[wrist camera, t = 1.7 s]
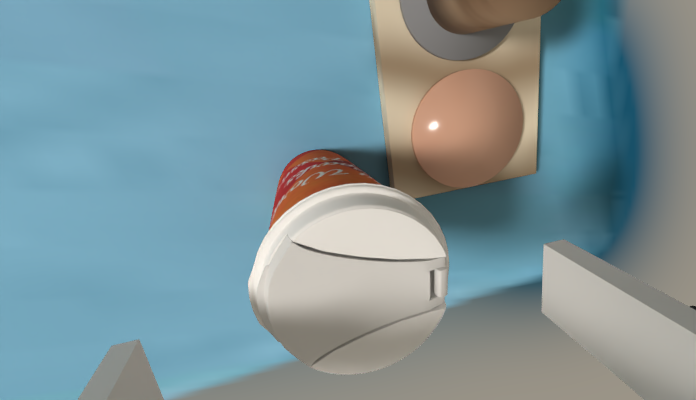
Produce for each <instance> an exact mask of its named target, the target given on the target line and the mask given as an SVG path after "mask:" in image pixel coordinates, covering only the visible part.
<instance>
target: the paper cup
mask: <svg viewBox="0 0 696 400" xmlns="http://www.w3.org/2000/svg"><path fill="white" fill-rule="evenodd" d="M448 271H449V256H448V248H447V244H446V240H445V237H444V235H443V232H442V230H441V228H440V226H439V224H438V223H437V221H436V220H435V218H434V217H433V215H432V214H431V213H430V212H429V211H428V210H427V209H426V208H425V207H424V206H423V205H422V204H421V203H420V202H418V201H417V200H415V199H414V198H413V197H411V196H410V195H408V194H406V193H403V192H401V191H399V190H397V189H395V188H391V187H387V186H384V185H381V184H380V183H379V182H377V181H376V180H375V179H373V178H372V177H371V176H369V175H368V174H367V173H365V172H364V171H362V170H361V169H360V168H358V167H357V166H355V165H354V164H353V163H351V162H350V161H348V160H347V159H345V158H344V157H342V156H340V155H338V154H336V153H334V152H331V151H327V150H311V151H307V152H304V153H302V154H300V155H298V156H297V157H295V158H294V159H293V160H291V161H290V162H289V163H288V165H287V166H286V167H285V169H284V171H283V172H282V175H281V177H280V180H279V184H278V188H277V192H276V197H275V202H274V207H273V212H272V218H271V223H270V228H269V232H268V233H267V234H266V236H265V237H264V239H263V241H262V244H261V246H260V248H259V250H258V252H257V256H256V259H255V263H254V266H253V269H252V272H251V275H250V278H249V281H248V288H249V298H250V301H251V305H252V308H253V312H254V314H255V316H256V318H257V320H258V321H259V323H260V324H261V325H262V326H263V327H264V328H265V329H266V330H268V331H269V332H270V333H271V334H272V335H273V336H274V338H275V339H276V340H277V341H278V342H281V344H282V345H283V346H284V348H285V349H286V350H288V351H289V352H290V353H291V354H292V355H294V356H295V357H296V358H297V359H299V360H300V361H302V362H303V363H305V364H306V365H307V366H309V367H310V368H313V369H315V370H319V371H322V372H326V373H333V374H340V375H347V374H361V373H367V372H371V371H375V370H379V369H382V368H384V367H387V366H389V365H392V364H394V363H396V362H398V361H399V360H401V359H403V358H405V357H406V356H408V355H409V354H410V353H412V352H413V351H414V350H416V349H417V348H418V347H419V346H420V345H421V344H422V343H423V342H424V341H425V340H426V339H427V338H428V337H429V336H430V334H431V333H432V332H433V331H434V330H435V328H436V326H437V325H438V323H439V322H440V320H441V318H442V316H443V314H444V311H445V309H446V303H445V301H444V297H445V296H446V295H447V284H448Z"/></svg>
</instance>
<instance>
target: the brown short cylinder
mask: <svg viewBox="0 0 696 400" xmlns="http://www.w3.org/2000/svg"><path fill="white" fill-rule="evenodd" d="M560 1H561V0H427V4H428V8H429V10H430V13H431V15H432V17H433V18H434V20H435V21H436V22H437V23H438V24H439V25H440V26H441V27H442V28H443V29H445V30H447V31H449V32H451V33H454V34H469V33H474V32H478V31H482V30H486V29H491V28H495V27H499V26H503V25H508V24H512V23H516V22H520V21H525V20H529V19H533V18H536V17H539V16H541V15H543V14H545V13H547V12H548V11H550V10H551V9H552V8H554V7H555V6H556V5H557V4H558V3H559V2H560Z"/></svg>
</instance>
